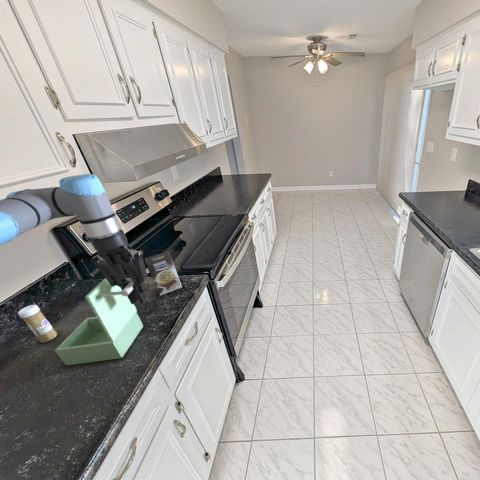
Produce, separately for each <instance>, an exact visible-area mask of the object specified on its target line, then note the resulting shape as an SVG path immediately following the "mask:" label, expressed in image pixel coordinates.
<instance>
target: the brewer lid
mask: <svg viewBox="0 0 480 480" xmlns="http://www.w3.org/2000/svg"><path fill="white" fill-rule="evenodd" d="M126 279H127V280H128V281H127V282H130V283H129V284H128V285H127V286H126V287H125V288H124V289H123V290H121V288H120V287H119V286H116V285H115V286H111V285H110V283H109V282H108V281H107V279H106V278H105V277H104V279H103V280H102V281H101V282H99V283H97V285H96V286H95V287H94V288H93V289H92V290H91V291H90V292H88V293H87V294H86V295H85V296H84V298H85V299H86V300H87V302H88V304H89V306H90V308H91V309H92V311H93V313H94V315H95V317H97V318H98V320H99V322H100V324H101V325H102V327H103V329H104V331H105V333H106V334H107V336H108V338H109V340H110V341H111V342H113V341H114V340H115V339H116V338H117V336H118V335H119V334H120V332H121V331H122V330H123V328H124V327H125V326H126V324H127V323H128V322H129V320H130V319H131V318H132V317H133V315H134V314H135V313H137V311H138V309H137V307H136V305H135V304H131V302H130V300H129V299H128V297H127V296H128V295H129V293H130V292H131V291H132V290H133V287H132V286H133V285H134V283H133V281H132V280H131V278H130V277H126Z"/></svg>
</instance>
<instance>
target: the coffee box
mask: <svg viewBox="0 0 480 480" xmlns="http://www.w3.org/2000/svg"><path fill="white" fill-rule="evenodd" d="M144 260H145V264H146V266H147V268H148V269H147V270H148V271H149V274H150V276H151V278H152V281H153V283H154V285H155V287H156V290H157V293H158V295H159V296H163V295H166V294H168V293H171V292H174V291H176V290H179V289H183V285H182V283H181V280H180V278H179V275H178V272H177V270H176V266H175V264H174V262H173V261H174V260H173V258H172V256H171V252H170V251H165V252H162V253H158V254H154V255H152V256H148V257H145V259H144Z"/></svg>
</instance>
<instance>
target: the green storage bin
mask: <svg viewBox="0 0 480 480" xmlns="http://www.w3.org/2000/svg"><path fill="white" fill-rule="evenodd" d="M143 328H144V324H143V323H142V319H140V316H139V314H138V312H136V313H135V314H134V315H133V317H132V318H131V319H130V320H129V322H128V323H127V324H126V326H125V327H124V328H123V330H122V331H121V332H120V334H119V335H118V336H117V338H116V339H115V340H114V341H113V342H111V341H110V340H109V338H108V336H107V334H106V333H105V331H104V329H103V327H102V325H101V324H100V322H99V320H98V318H97V317H96V316H93V317H92V316H91V317H86V318H85V319H84V320H83V321H82V322H81V323H80V324H79V325H78V326H77V327H76V328H75V329H74V330H73V331H72V332H71V333H70V335H68V336H67V337H66V338H65V339H64V340H63V341H62V342H61V343H60V344H59V345H58V346H57V347H56V348H55V349H54V352H55V353H56V354H57V356H58V357H59V358H60V360H61V361H62V362H63V363H64V365H65V366H73V365H74V366H75V365H81V364H88V363H94V362H101V361H102V362H103V361H110V360H117V359H118V360H119V359H122V358H123V357H124V356H125V354H126V353H127V352H128V349H129V348H130V347H131V345H132V344H133V342H134V341H135V340H136V338H137V337H138V335H139V334H140V332H141V331H142V329H143Z"/></svg>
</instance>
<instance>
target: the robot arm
mask: <svg viewBox="0 0 480 480" xmlns="http://www.w3.org/2000/svg"><path fill="white" fill-rule="evenodd" d="M58 184H59V186H53V187H43V188H42V187H41V188H26V189H22V190H17V191H12V192H10V193H7V195H6V197H5V198H2V199H0V246H1V245H5V244H6V243H9V242H11V241H12V240H13V239H15V238H17V237H19V236H21V235H23V234H25V233H27V232H29V231H30V230H32V229H35V228H37V227H39V226H41V225H43V224H46V223H47V222H49V221H51V220H54V219H59V218H68V217H74V216H76V218H77V220H78V221H79V222H80V226H81V227H82V230H84V232H85V234H86V237H87V238H89V242H90V243H91V245H92V248H93V249H94V251H96V252H97V254H96V255H94V256H93V257H91V258H90V260H89V261H90V262H91V263H92V264H93V265H94V266H96V268H97V269H98V270H99V271H100V273H101V274H102V275H103V277H104V279H105V278H106V279H107V281H108V282H109V283H110V285H111V286H115V285H116V286H119V287H120V288H121V290H123V289H124V288H125V287H126V286H127V285H128V284H129V283H130V282H131V281H128V280H127V279H126V278H127V277H126V275H125V272H124V270H125V271H126V274H127V275H128V276H129V278H131V280H132V281H133V283H134V285H133V286H132V287H133V290H132V291H131V292H130V293H129V295H128V296H127V297H128V299H129V300H130V302H131V304H134V305H135V304H136V302H137V301H139V303H140V304H144V303H145V301H146V300H147V299H148V295H147V293H146V290H147V289H146V288H147V287H146V286H145V284H144V282H145V281H146V280H147V279H148V278H149V275H148V272H147V268H146V265H145V264H146V263H145V261H144V250H142V249H139V250H136V249H133V248H132V246H130V245H129V241H128V238H127V236H126V233H125V231H124V230H123V229H122V225H121V223H120V221H119V219H118V217H117V214H116V212H115V211H114V209H113V208H114V207H113V206H112V204H111V201H110V200H109V197H108V195H107V191H106V189H105V188H104V186H103V185H102V183H101V181H100V179H99V177H98V176H97V175H95V174H92V173H84V174H77V175H70V176H66V177H63V178H60V179H59V180H58ZM123 268H124V269H123Z"/></svg>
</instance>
